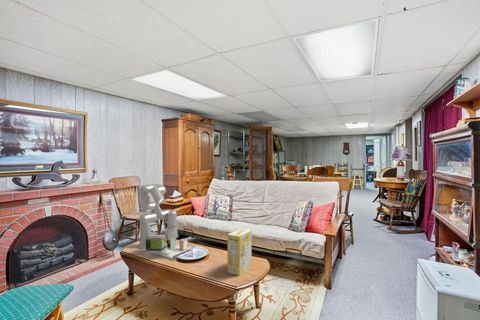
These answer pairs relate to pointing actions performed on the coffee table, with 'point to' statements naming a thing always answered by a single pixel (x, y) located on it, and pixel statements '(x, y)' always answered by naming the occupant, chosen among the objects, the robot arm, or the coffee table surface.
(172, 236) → the robot arm
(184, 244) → the terracotta carton
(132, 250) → the coffee table surface
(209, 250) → the coffee table surface
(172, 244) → the sage carton
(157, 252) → the tea box
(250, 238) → the pasta box
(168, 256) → the shelf
